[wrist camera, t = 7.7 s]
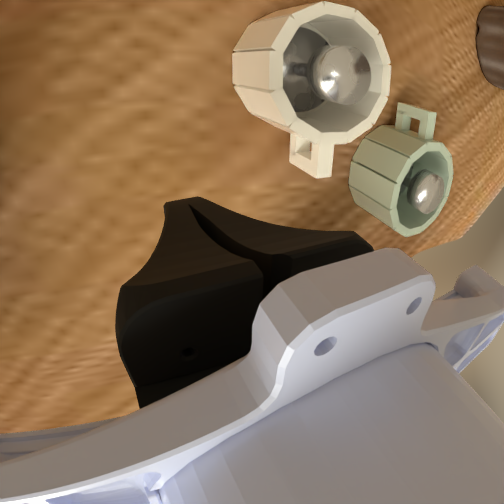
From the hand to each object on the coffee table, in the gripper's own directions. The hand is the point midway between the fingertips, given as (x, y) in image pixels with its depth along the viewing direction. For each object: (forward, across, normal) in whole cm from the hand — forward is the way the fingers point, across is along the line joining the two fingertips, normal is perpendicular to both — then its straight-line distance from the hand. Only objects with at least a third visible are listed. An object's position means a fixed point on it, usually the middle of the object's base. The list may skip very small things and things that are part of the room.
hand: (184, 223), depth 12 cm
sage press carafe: (+10, -21, +2) cm, 24 cm away
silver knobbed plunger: (+10, -10, -5) cm, 15 cm away
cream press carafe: (+10, -10, -4) cm, 15 cm away
